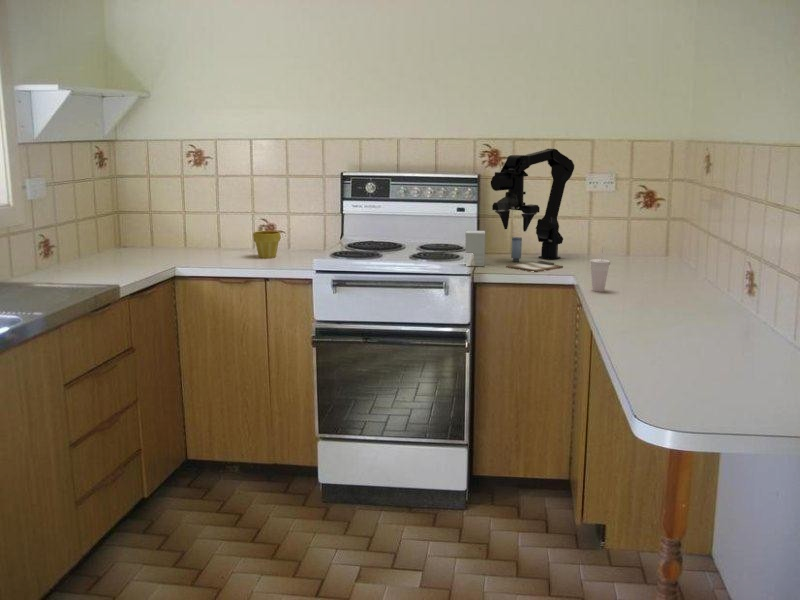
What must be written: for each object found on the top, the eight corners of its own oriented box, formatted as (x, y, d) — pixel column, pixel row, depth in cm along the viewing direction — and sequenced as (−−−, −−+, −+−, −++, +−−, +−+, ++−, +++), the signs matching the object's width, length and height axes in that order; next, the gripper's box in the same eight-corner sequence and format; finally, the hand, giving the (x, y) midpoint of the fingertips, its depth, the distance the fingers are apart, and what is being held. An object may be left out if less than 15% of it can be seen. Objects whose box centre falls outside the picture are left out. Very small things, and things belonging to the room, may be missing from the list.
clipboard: (533, 262, 319) (533, 259, 319) (562, 267, 309) (563, 264, 309) (505, 267, 308) (505, 263, 308) (535, 272, 298) (535, 268, 298)
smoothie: (597, 293, 262) (599, 249, 259) (583, 289, 268) (586, 246, 265) (612, 291, 265) (615, 247, 262) (599, 288, 271) (602, 245, 268)
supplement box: (484, 263, 316) (485, 230, 314) (484, 266, 309) (485, 232, 306) (465, 263, 317) (466, 230, 314) (464, 266, 310) (465, 232, 307)
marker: (515, 260, 324) (516, 236, 322) (522, 261, 321) (523, 237, 319) (508, 261, 321) (509, 237, 319) (516, 262, 319) (517, 238, 317)
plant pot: (259, 259, 319) (258, 234, 317) (250, 256, 328) (249, 231, 326) (284, 258, 324) (284, 233, 322) (274, 254, 333) (274, 229, 331)
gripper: (482, 189, 315) (482, 230, 318) (521, 192, 301) (521, 235, 305) (502, 187, 322) (501, 227, 325) (540, 189, 309) (539, 231, 312)
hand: (515, 230), depth 317 cm, fingers open, 9 cm apart
